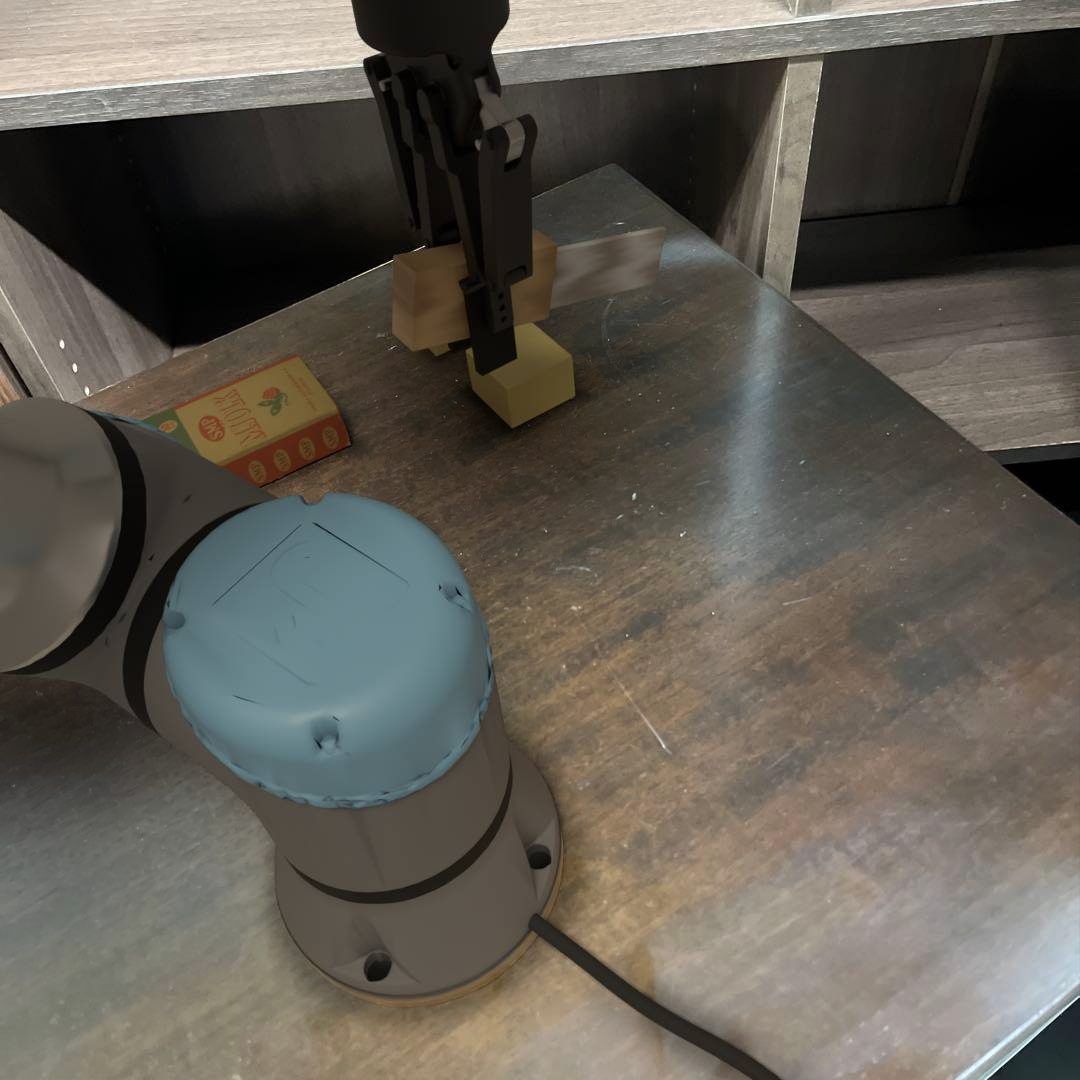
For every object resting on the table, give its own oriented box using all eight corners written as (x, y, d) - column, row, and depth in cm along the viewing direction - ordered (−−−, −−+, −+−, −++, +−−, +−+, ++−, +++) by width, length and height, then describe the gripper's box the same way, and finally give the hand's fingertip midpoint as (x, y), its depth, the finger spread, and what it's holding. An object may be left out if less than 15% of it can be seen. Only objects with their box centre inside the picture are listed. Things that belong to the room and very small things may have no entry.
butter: (575, 396, 78) (572, 355, 75) (512, 429, 76) (506, 389, 73) (533, 359, 81) (529, 319, 78) (471, 389, 79) (464, 350, 76)
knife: (412, 352, 58) (415, 273, 55) (391, 333, 59) (392, 254, 56) (665, 290, 68) (679, 219, 65) (641, 275, 70) (655, 205, 66)
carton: (353, 447, 76) (339, 406, 73) (152, 540, 72) (129, 499, 68) (311, 390, 81) (297, 349, 78) (121, 473, 76) (98, 432, 73)
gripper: (589, -43, 42) (604, 386, 60) (405, -112, 51) (465, 279, 69) (442, 7, 40) (503, 441, 57) (275, -74, 49) (371, 322, 66)
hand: (482, 352), depth 63 cm, fingers closed on knife, 2 cm apart
